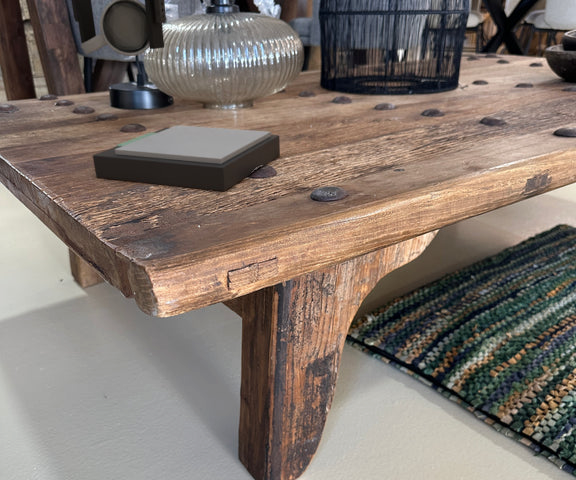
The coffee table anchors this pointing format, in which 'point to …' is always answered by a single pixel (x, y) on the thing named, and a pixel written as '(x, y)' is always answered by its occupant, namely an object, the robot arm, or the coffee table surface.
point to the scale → (189, 157)
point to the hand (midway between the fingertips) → (122, 47)
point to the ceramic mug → (121, 29)
